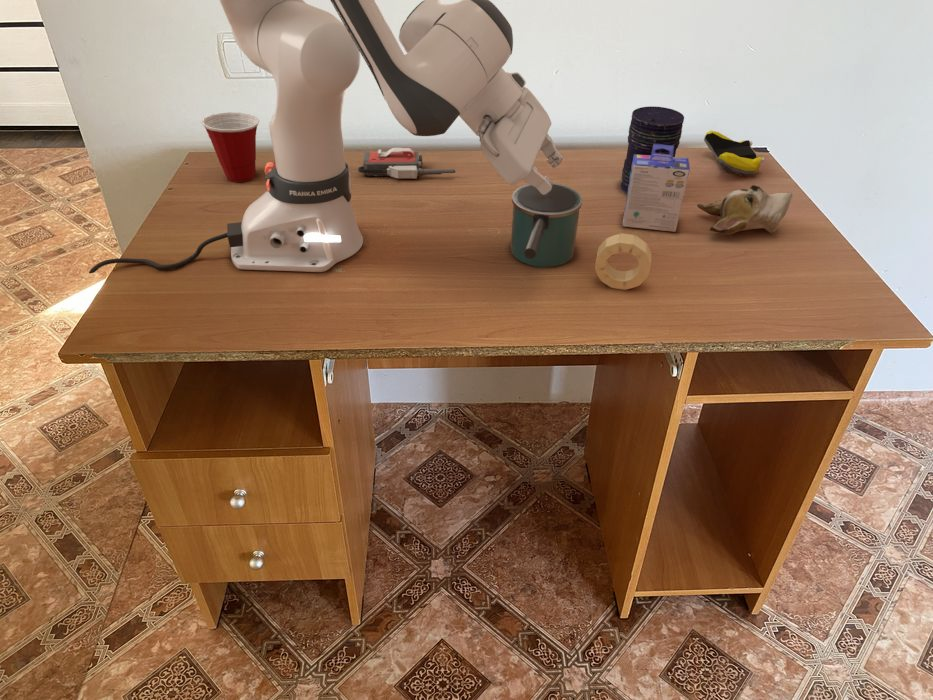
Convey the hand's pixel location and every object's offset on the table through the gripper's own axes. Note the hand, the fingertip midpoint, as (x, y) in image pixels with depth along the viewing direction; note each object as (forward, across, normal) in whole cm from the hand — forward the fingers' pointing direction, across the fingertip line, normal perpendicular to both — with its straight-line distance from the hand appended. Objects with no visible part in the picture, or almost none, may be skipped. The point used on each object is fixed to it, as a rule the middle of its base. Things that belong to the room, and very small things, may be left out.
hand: (554, 176), depth 102 cm
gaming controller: (+35, +52, -9) cm, 64 cm away
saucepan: (+11, +2, +13) cm, 17 cm away
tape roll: (+21, 0, +4) cm, 21 cm away
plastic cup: (-35, +20, +59) cm, 72 cm away
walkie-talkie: (-12, +31, +37) cm, 50 cm away
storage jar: (+23, +37, +3) cm, 43 cm away
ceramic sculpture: (+35, +25, -10) cm, 44 cm away
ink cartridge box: (+24, +22, +1) cm, 33 cm away
